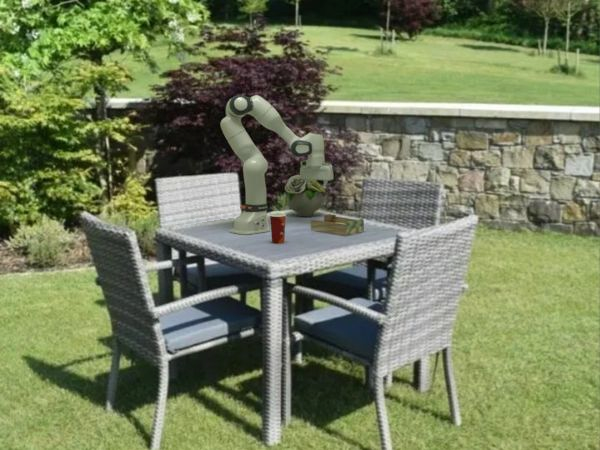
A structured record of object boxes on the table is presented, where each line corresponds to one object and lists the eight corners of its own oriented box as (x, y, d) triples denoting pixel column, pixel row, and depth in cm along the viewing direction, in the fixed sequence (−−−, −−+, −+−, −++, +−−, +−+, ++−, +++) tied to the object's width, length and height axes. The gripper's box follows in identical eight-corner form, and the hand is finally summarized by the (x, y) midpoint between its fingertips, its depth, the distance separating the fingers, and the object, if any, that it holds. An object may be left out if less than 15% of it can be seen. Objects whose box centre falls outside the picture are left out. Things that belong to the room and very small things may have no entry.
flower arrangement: (277, 217, 442) (277, 175, 437) (293, 210, 465) (293, 171, 460) (317, 220, 433) (318, 177, 429) (331, 213, 456) (332, 172, 452)
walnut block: (330, 224, 405) (330, 216, 404) (324, 223, 408) (324, 215, 407) (335, 223, 408) (335, 214, 408) (329, 222, 411) (329, 214, 410)
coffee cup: (287, 243, 370) (286, 213, 368) (270, 244, 370) (269, 213, 367) (285, 240, 379) (285, 210, 376) (269, 240, 378) (269, 211, 375)
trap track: (345, 236, 388) (345, 222, 387) (310, 230, 403) (310, 217, 402) (363, 231, 400) (363, 218, 399) (329, 226, 415) (329, 213, 414)
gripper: (335, 162, 405) (336, 188, 407) (305, 161, 417) (305, 186, 420) (328, 163, 400) (329, 189, 402) (298, 162, 412) (298, 187, 415)
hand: (317, 188), depth 411 cm, fingers open, 8 cm apart
